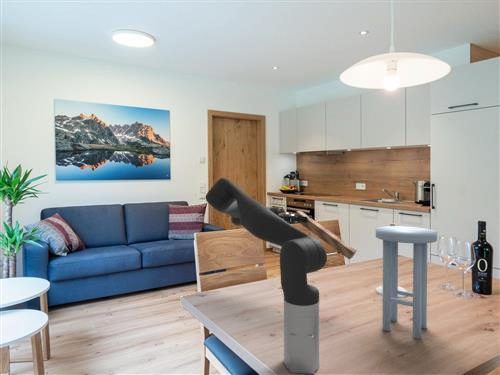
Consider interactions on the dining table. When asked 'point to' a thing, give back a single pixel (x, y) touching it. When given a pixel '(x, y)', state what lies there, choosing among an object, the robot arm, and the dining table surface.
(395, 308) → the stool
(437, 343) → the dining table surface
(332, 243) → the thin wooden plank
